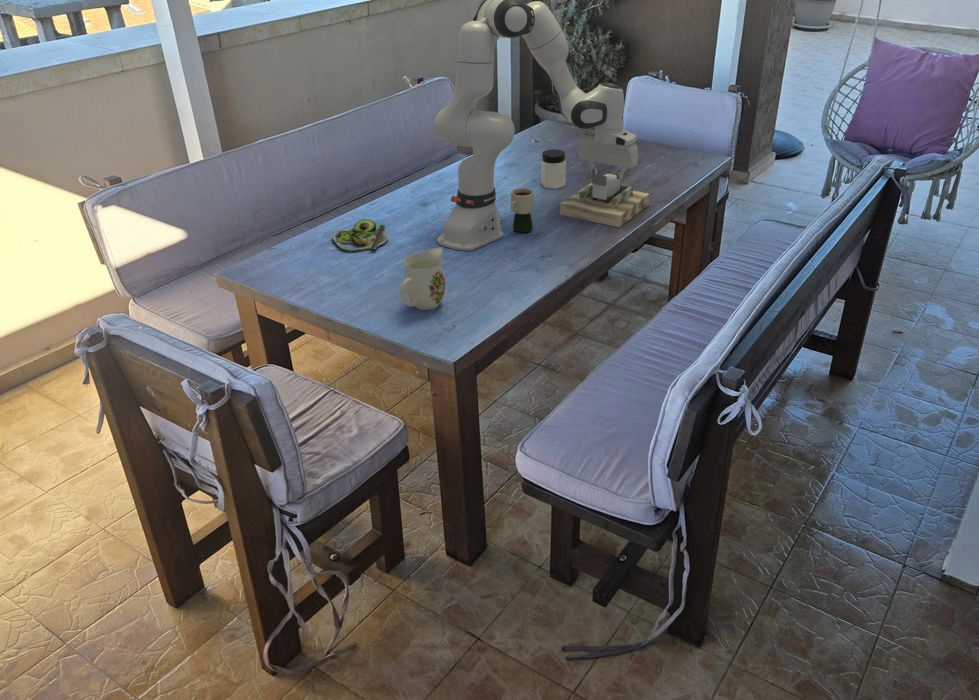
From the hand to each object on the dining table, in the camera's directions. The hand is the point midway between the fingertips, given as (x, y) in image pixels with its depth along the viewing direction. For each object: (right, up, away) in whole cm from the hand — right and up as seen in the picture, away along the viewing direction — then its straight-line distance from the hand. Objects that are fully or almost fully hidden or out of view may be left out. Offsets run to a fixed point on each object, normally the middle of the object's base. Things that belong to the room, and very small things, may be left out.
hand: (606, 176), depth 278 cm
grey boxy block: (0, -6, +5) cm, 8 cm away
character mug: (-28, -19, -6) cm, 34 cm away
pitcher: (-56, -45, -47) cm, 86 cm away
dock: (0, -10, +6) cm, 12 cm away
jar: (-15, +2, +28) cm, 32 cm away
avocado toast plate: (-80, -22, -8) cm, 83 cm away
